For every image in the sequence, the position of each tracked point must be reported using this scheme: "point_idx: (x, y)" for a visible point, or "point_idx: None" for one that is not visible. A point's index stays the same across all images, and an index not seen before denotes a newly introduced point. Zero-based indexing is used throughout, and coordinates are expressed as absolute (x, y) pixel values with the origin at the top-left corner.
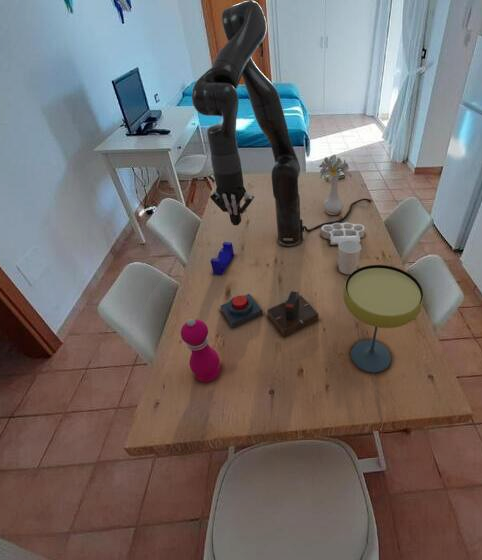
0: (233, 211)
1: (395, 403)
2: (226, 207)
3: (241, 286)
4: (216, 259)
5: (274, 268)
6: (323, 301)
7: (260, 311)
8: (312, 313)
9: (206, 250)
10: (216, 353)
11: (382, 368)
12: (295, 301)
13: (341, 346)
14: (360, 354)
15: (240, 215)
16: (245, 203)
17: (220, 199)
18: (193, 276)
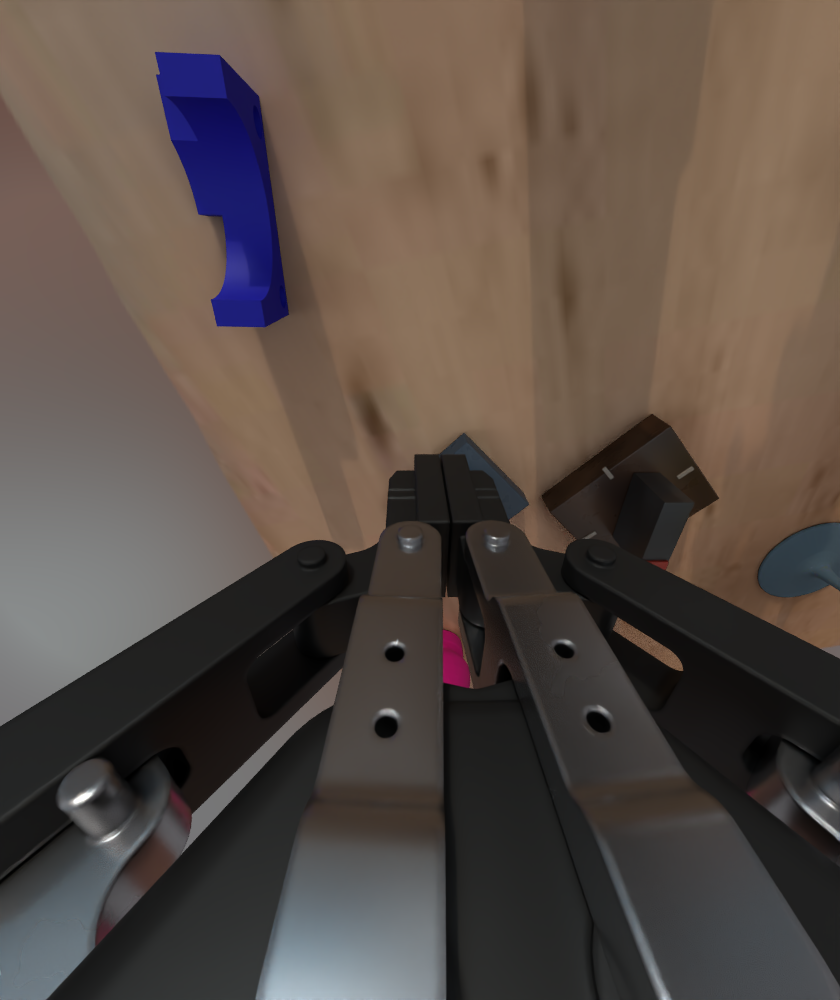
0: (464, 642)
1: (805, 636)
2: (345, 640)
3: (409, 373)
4: (243, 309)
5: (531, 196)
6: (738, 396)
7: (523, 506)
8: (700, 501)
9: (45, 62)
10: (465, 680)
11: (820, 588)
12: (675, 544)
13: (742, 549)
14: (786, 571)
15: (506, 516)
16: (744, 790)
17: (193, 735)
18: (173, 349)
